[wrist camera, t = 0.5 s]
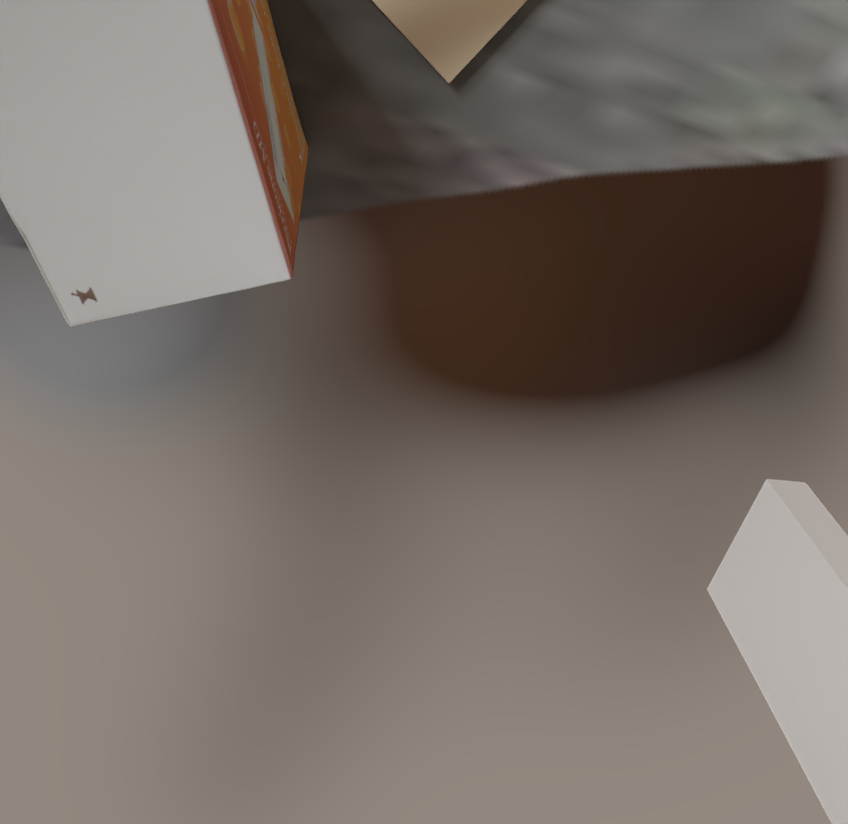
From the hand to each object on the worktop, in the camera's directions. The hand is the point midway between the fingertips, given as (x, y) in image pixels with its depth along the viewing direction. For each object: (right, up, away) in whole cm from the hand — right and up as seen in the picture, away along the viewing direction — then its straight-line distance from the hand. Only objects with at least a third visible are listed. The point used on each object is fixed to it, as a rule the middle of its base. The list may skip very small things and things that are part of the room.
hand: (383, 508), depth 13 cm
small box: (-8, +15, +16) cm, 23 cm away
